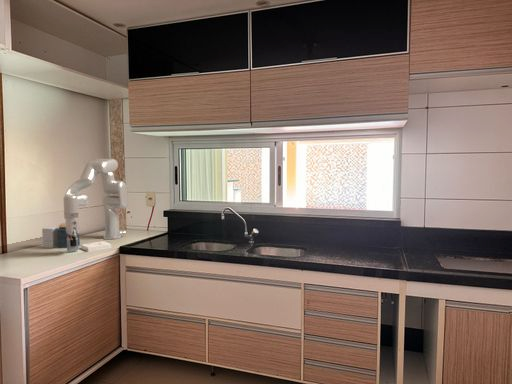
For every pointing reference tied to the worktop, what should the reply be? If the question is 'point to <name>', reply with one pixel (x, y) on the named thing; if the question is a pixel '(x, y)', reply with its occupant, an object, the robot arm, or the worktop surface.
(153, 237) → the worktop surface
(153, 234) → the worktop surface
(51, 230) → the supplement box
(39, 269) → the worktop surface
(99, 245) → the white flat block
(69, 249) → the plug
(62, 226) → the canister
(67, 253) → the mat
